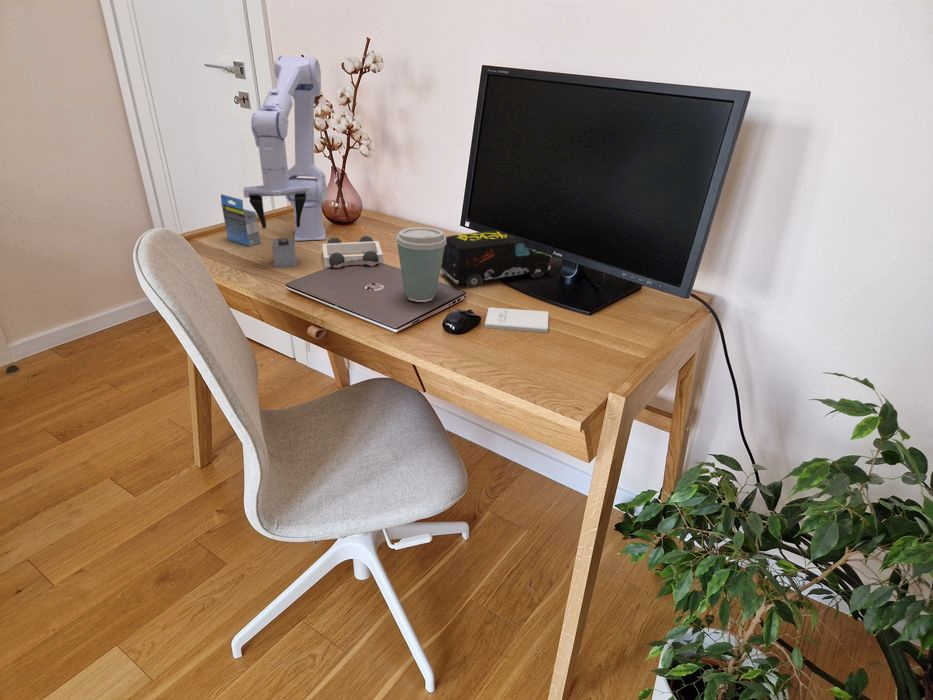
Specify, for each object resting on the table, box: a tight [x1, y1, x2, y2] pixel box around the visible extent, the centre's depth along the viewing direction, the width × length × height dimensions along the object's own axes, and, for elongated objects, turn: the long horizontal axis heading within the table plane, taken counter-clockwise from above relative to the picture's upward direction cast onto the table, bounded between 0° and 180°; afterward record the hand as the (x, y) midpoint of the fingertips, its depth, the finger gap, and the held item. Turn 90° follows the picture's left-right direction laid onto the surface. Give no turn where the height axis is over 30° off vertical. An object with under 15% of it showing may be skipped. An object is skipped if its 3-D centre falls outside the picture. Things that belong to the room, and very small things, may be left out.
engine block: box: [271, 236, 298, 269], centre depth 150 cm, size 5×5×6 cm
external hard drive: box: [484, 307, 549, 334], centre depth 127 cm, size 2×8×12 cm
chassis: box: [321, 235, 384, 268], centre depth 155 cm, size 12×14×4 cm
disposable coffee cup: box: [395, 226, 447, 300], centre depth 133 cm, size 11×11×15 cm
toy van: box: [440, 229, 552, 288], centre depth 146 cm, size 11×25×10 cm, turn 114°
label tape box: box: [220, 193, 261, 247], centre depth 161 cm, size 9×4×12 cm, turn 56°
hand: (281, 226), depth 147 cm, fingers open, 7 cm apart
